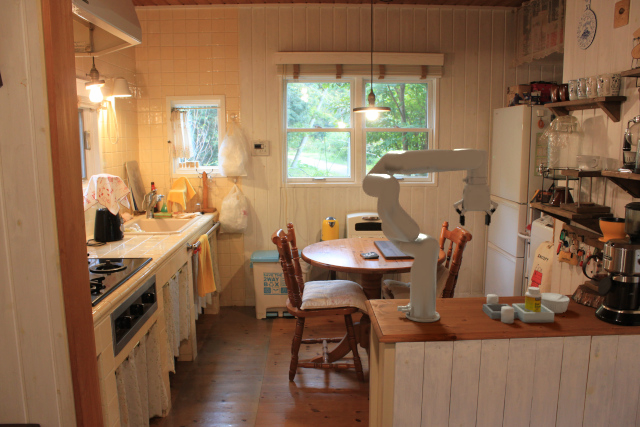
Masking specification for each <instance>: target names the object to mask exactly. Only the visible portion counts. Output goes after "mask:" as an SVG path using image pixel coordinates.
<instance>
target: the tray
mask: <svg viewBox="0 0 640 427" xmlns="http://www.w3.org/2000/svg"><path fill="white" fill-rule="evenodd" d="M511 307H513V308H514V310H516V311H517V319H519V320H520V321H521V322H522V323H526V324H527V323H555V313H554V312H552V311H551V310H549V309H548V308H546V307H545V306H543V305H542V304H541V312H525V303H512V304H511Z"/></svg>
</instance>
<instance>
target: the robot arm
mask: <svg viewBox="0 0 640 427" xmlns="http://www.w3.org/2000/svg"><path fill="white" fill-rule="evenodd" d="M488 157H489V152H488V150H486V149H485V148H484V149H483V148H480V149H479V148H478V149H477V148H455V149H439V148H438V149H437V148H427V149H413V150H411V149H410V150H390V151H388V152H386V153H385V154H384V155H383V156H381V158H380V159H378V161H377V162H376V163H375V165H373V167H372V168H371V169H370V170H369V171H368V172H367V174H366V175H365V176H364V178H363V179H362V186H361V188H362V190H363V192H364V193H365V194H366V195H367V196H369V197H372V198H376V199H377V201H376V202H377V204H376V213H377V215H378V217H379V219H380V221H382V222H381V224H380V225H381V227H380V228H381V231H382V234H383V235H384V236H385V238H386V239H387V240H389V242H390V243H391V244H392V245H393V246H395V248H397V249H398V250H399V251H400V252H401V253H402V254H404V255H407V256H410V257H411V258H413V261H412V264H411V267H410V275H409V276H410V278H409V280H410V282H409V284H410V285H409V286H410V289H409V291H410V292H409V302H408V303H407V305H405V306H403V305H397V308H396V309H397V312H401V313H405V317H406V318H407V319H408V320H411V321H413V322H419V323H433V322H437V321H438V320H440V317H441V315H440V313H439V312H437V311H436V310H437V308H436V306H437V302H436V301H437V269H438V260H439V257H440V252H441V246H440V242H439V241H438V240H437V238H436V237H434V236H433V235H430V234H427V233H423V232H421V228H420V226H419V224H418V222H417V220H415V218H413V217H412V216H411V215H410V214H409V213H408V212H407V211H406V210H405V209H404V208H403V206H402V205H401V204H400V192H401V185H400V181H399V180H398V179H397V177H395V175H401V176H402V175H404V176H405V175H407V176H408V175H417V174H428V173H429V174H430V173H431V174H433V173H445V172H453V171H454V172H459V171H466V177H465V178H462V182H463V183H465V184H464V186H463V190H462V196H461V199H459V201H457V202H454V203H453V204H452V207H453V208H454V210H455V212H456V213H457V214H458V215H459V224H460V226H462V227H464V226H466V216H465V214H466V213H467V212H485V216H484V225H485V226H487V227H490V224H491V222H492V220H491V218H492V215H493V214H494V213H495V212H496V211H497V208H498V207H499V204H498V203H496V202H495V201H494V200H491V190H490V186H489V185H488V184H487V183H488V181H487V180H488V163H489V162H488V159H489V158H488ZM460 205H461V209H459V206H460ZM491 206H492V207H491Z"/></svg>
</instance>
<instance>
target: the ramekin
mask: <svg viewBox="0 0 640 427" xmlns="http://www.w3.org/2000/svg"><path fill="white" fill-rule="evenodd" d="M540 294H541V295H542V298H541V304H542V305H543V306H545V307H546V308H548V309H549V310H551V311H552V312H554V314H563V312H564V313H565V312H566V311H567V310H568V306H569V304H570V297H568V296H567V295H564V294H561V293H555V292H542V293H540Z"/></svg>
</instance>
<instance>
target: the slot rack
mask: <svg viewBox="0 0 640 427" xmlns="http://www.w3.org/2000/svg"><path fill="white" fill-rule="evenodd" d="M499 297H500V296H499V295H497V294H494V293H488V294H487V295H486V303H483V304H482V311H483V313H485V314H486V315H487V317H489V318H490V319H491V320H495V319H496V320H500V322H502V323H503V324H504V323H505V324H513V323H514V321H515V319H518V317H517V311H516V310H514V308H513V307H512V305H510V304H508V303H499V299H500V298H499Z"/></svg>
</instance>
